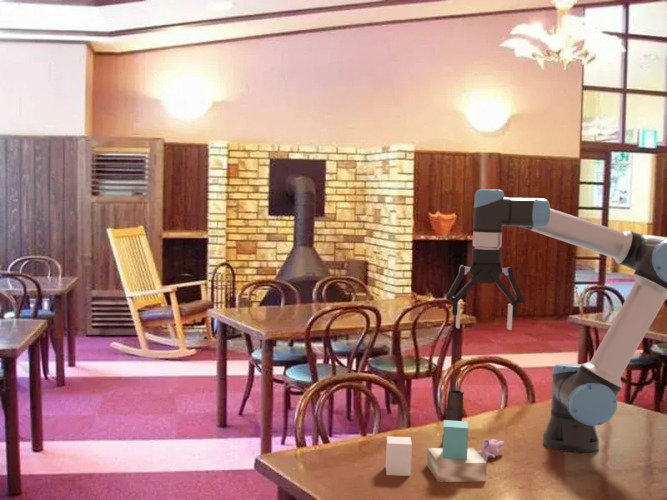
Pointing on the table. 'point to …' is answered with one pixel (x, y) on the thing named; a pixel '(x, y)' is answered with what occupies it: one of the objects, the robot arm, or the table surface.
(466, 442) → the teal block
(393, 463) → the off-white block
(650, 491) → the table surface
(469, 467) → the birch base
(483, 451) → the pink animal figurine
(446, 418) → the butter churn
